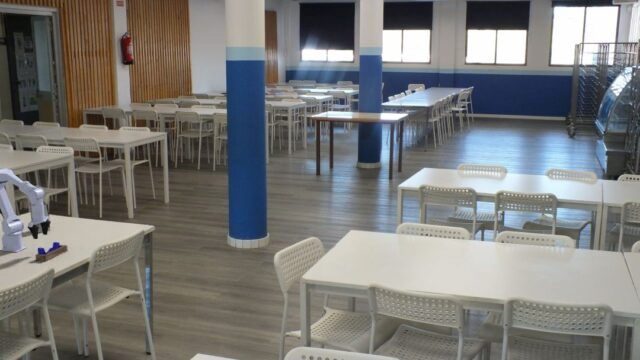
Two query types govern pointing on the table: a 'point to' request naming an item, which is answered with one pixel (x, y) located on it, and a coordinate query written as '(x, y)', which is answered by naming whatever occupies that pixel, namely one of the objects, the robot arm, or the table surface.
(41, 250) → the blue notched arch
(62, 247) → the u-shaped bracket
